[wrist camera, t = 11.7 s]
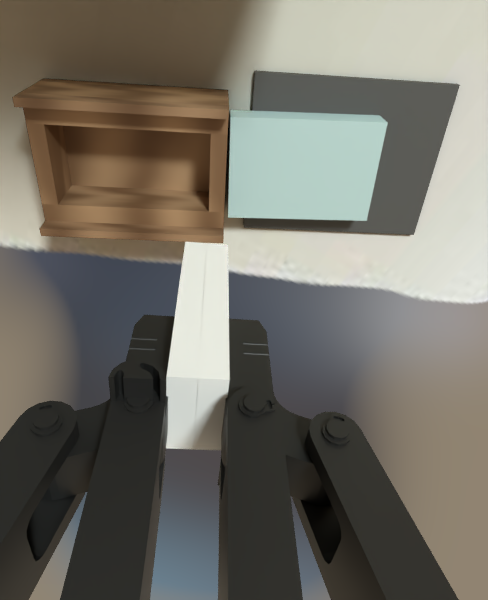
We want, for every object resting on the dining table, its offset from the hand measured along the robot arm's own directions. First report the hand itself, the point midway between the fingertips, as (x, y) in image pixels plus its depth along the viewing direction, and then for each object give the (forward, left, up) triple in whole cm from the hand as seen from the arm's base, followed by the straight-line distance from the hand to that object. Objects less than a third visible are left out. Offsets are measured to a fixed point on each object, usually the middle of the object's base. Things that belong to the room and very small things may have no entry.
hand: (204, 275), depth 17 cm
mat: (+11, +4, -25) cm, 27 cm away
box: (-2, -6, -25) cm, 26 cm away
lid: (+8, +2, -24) cm, 26 cm away
